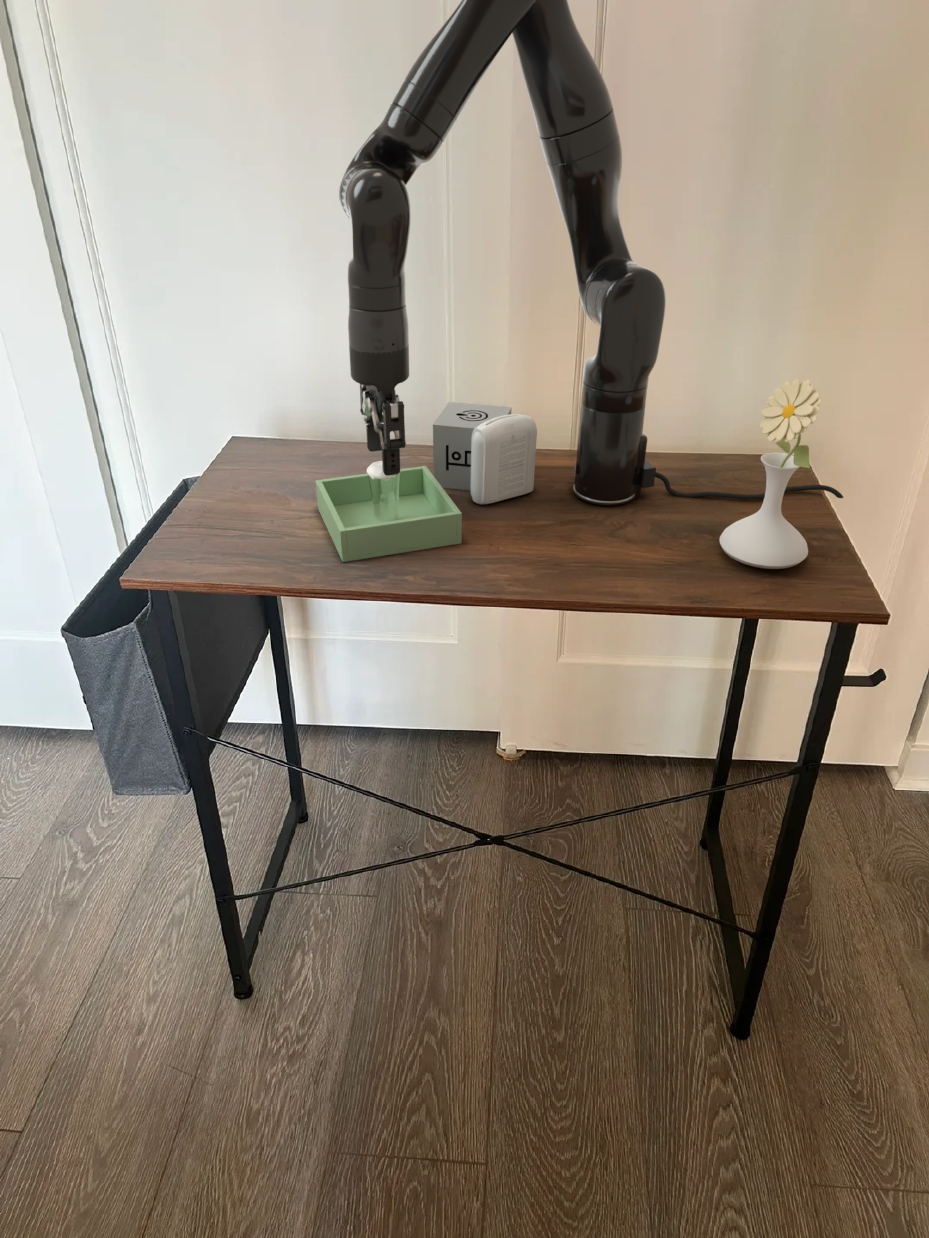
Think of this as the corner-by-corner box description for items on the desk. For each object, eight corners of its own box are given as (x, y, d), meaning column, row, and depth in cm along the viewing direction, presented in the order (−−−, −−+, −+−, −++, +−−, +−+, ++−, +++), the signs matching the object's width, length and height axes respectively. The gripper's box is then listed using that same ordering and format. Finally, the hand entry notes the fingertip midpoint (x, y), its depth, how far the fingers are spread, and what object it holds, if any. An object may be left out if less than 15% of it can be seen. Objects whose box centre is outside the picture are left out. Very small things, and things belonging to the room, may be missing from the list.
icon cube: (433, 486, 138) (432, 424, 132) (449, 461, 146) (448, 401, 140) (497, 493, 136) (499, 430, 131) (509, 467, 144) (511, 407, 139)
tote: (426, 493, 136) (426, 465, 133) (461, 543, 123) (461, 513, 120) (318, 509, 131) (315, 480, 129) (342, 562, 118) (340, 531, 115)
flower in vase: (709, 535, 125) (741, 356, 111) (792, 536, 125) (833, 358, 111) (730, 583, 114) (767, 392, 100) (820, 585, 114) (870, 393, 100)
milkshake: (409, 516, 128) (407, 450, 123) (394, 532, 124) (391, 465, 118) (380, 511, 129) (376, 446, 124) (364, 527, 125) (360, 460, 120)
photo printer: (521, 482, 139) (524, 405, 132) (538, 492, 136) (542, 414, 129) (465, 498, 134) (466, 419, 127) (482, 508, 131) (483, 428, 125)
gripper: (423, 355, 108) (424, 479, 117) (393, 324, 119) (396, 439, 128) (363, 360, 106) (368, 486, 115) (337, 328, 117) (344, 445, 126)
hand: (383, 461), depth 121 cm, fingers open, 8 cm apart
